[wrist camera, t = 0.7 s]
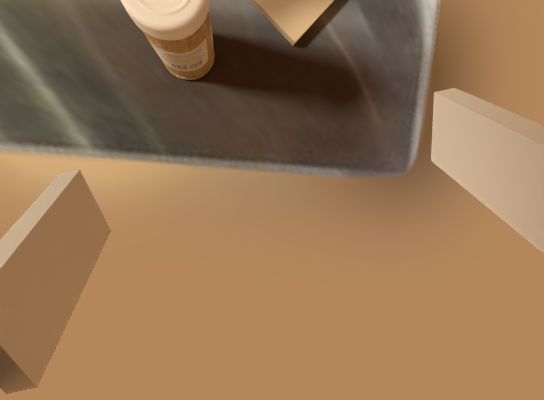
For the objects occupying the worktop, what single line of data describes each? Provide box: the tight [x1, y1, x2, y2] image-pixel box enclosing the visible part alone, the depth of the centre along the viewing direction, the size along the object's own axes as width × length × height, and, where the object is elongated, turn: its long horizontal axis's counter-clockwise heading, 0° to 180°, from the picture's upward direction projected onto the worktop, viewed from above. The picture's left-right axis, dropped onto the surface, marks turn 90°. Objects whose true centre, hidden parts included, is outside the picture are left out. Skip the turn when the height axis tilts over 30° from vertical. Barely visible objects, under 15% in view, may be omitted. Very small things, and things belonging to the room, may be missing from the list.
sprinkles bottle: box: [121, 0, 215, 80], centre depth 25 cm, size 5×5×13 cm
